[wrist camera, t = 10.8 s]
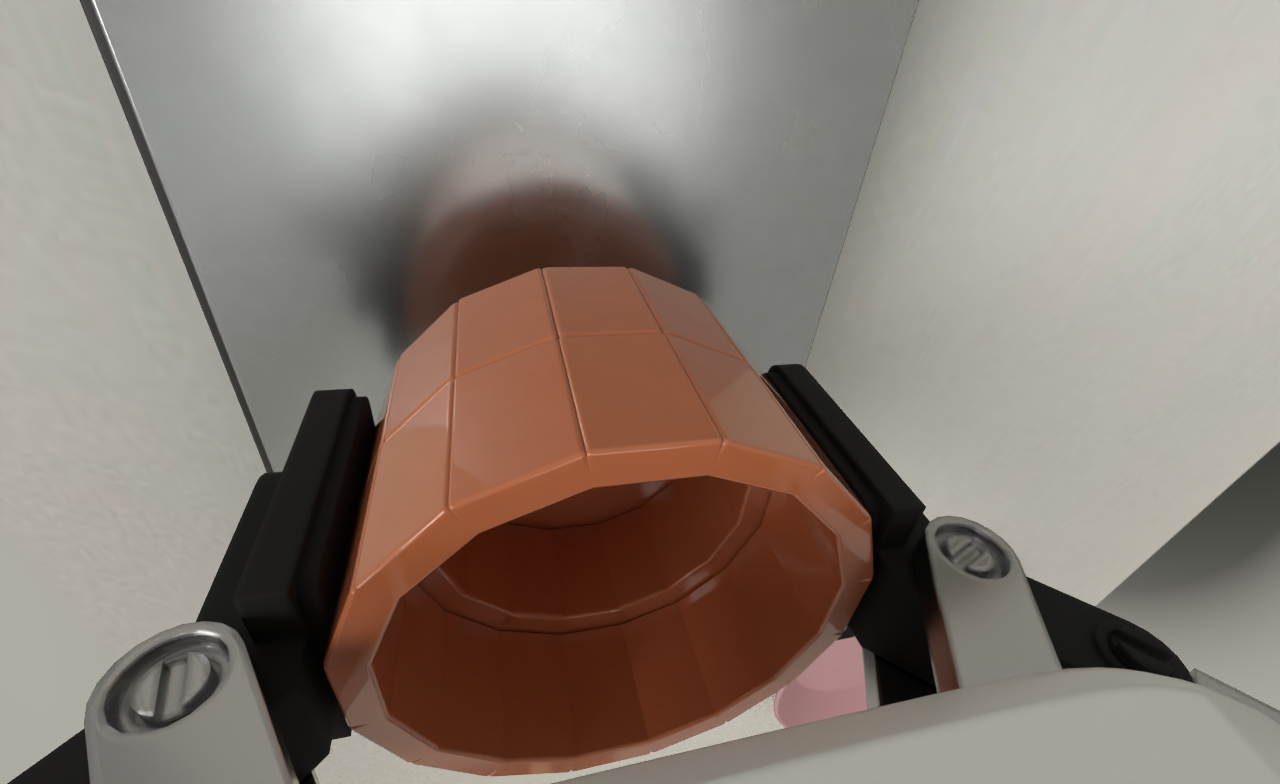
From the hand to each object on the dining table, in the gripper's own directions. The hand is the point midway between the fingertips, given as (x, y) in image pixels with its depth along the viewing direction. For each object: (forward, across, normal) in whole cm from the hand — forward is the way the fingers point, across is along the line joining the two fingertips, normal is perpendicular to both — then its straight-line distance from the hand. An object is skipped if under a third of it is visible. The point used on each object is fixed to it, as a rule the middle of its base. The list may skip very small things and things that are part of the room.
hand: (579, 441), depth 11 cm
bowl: (+1, 0, 0) cm, 1 cm away
